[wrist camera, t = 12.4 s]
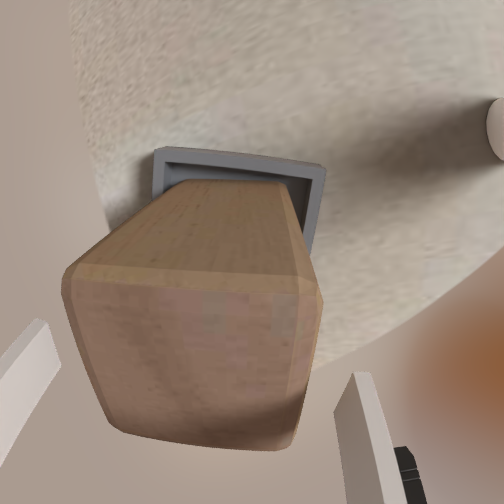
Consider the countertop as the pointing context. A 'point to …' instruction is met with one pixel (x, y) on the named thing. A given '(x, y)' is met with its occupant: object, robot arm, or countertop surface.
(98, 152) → the countertop surface
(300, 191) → the tray
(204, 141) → the countertop surface
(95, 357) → the wooden block
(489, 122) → the bottle
